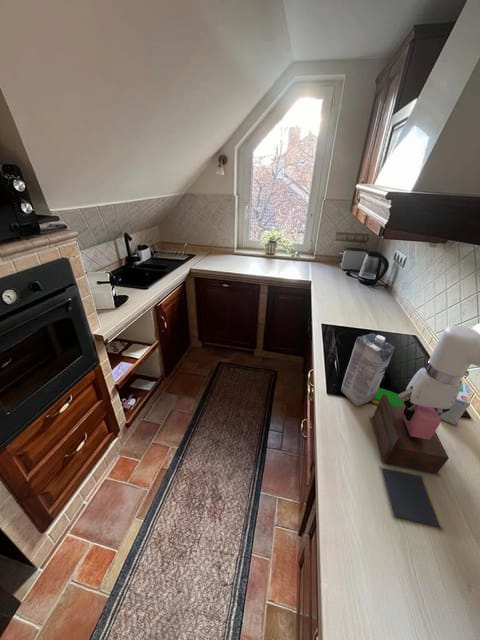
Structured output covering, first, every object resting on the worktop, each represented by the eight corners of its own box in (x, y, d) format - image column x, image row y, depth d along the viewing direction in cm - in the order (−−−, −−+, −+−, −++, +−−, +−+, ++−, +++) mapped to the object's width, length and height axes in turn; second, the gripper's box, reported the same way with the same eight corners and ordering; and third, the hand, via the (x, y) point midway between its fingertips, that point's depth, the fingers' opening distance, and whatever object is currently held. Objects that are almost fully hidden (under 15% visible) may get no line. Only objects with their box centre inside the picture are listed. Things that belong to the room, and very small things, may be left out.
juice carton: (357, 410, 91) (380, 350, 77) (336, 390, 99) (354, 332, 86) (375, 402, 94) (400, 344, 81) (354, 383, 103) (373, 327, 89)
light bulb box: (434, 397, 97) (446, 376, 92) (455, 405, 94) (469, 384, 89) (432, 415, 90) (446, 394, 84) (455, 425, 87) (471, 404, 81)
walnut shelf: (415, 426, 86) (430, 402, 80) (436, 474, 72) (456, 449, 66) (371, 418, 88) (382, 394, 82) (384, 463, 75) (398, 438, 69)
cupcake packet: (417, 413, 79) (427, 395, 75) (429, 439, 71) (441, 421, 67) (400, 411, 80) (409, 392, 76) (410, 436, 72) (420, 417, 68)
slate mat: (420, 477, 72) (420, 476, 71) (439, 527, 62) (439, 526, 61) (382, 469, 73) (382, 468, 73) (394, 516, 63) (395, 515, 63)
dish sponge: (373, 390, 100) (374, 385, 99) (413, 404, 94) (415, 399, 93) (371, 402, 94) (373, 397, 93) (413, 418, 89) (416, 413, 88)
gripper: (473, 367, 66) (444, 413, 76) (402, 357, 69) (382, 403, 79) (490, 387, 60) (456, 435, 69) (412, 376, 63) (389, 423, 72)
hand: (417, 418), depth 74 cm, fingers closed on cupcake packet, 5 cm apart
